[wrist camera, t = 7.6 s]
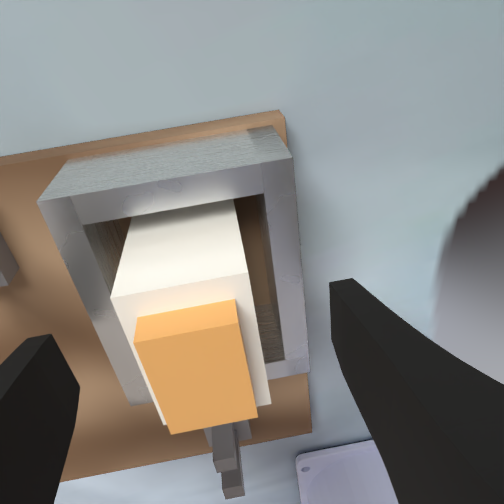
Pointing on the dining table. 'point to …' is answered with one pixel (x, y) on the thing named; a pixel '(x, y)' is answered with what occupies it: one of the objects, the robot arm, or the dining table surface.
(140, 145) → the board
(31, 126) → the dining table surface
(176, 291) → the connector
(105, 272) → the end holder
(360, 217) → the dining table surface
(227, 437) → the clip
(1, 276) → the clip
